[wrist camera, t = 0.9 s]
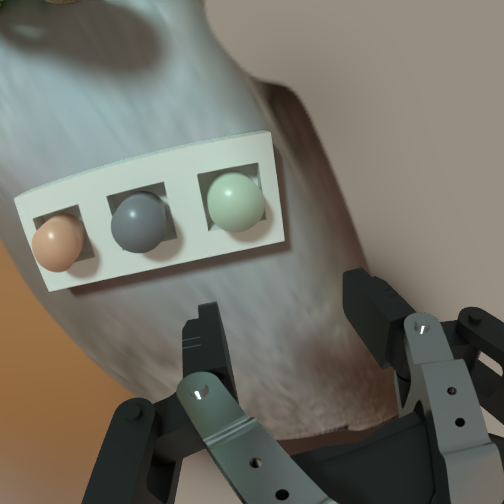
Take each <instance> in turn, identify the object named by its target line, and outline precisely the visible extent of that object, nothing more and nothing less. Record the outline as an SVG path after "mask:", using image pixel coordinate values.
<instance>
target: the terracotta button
mask: <svg viewBox="0 0 504 504" xmlns="http://www.w3.org/2000/svg"><path fill="white" fill-rule="evenodd" d="M85 243H86V233H85V229H84V227H83V225H82V223H81V222H80V221H79V220H78V219H77V218H76V217H75V216H73V215H71V214H68V213H58V214H55V215H54V216H52V217H51V218H50V219H49V220H48V221H47V222H46V223H44V224H43V225H42V226H41V227H40V228H39V229H38V230H37V231H36V232H35V234H34V236H33V239H32V251H33V254H34V256H35V258H36V260H37V261H38V263H39V264H40V265H41V266H42V267H43V268H45V269H46V270H48V271H51V272H56V273H59V272H64V271H66V270H68V269H69V268H70V267H71V266H72V264H73V263H74V261H75V260H76V258H77V257H78V255H79V254H80V253H81V251H82V250H83V248H84V246H85Z"/></svg>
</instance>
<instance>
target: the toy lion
mask: <svg viewBox="0 0 504 504" xmlns="http://www.w3.org/2000/svg"><path fill="white" fill-rule="evenodd" d="M1 1H3V0H0V2H1ZM45 1H46V2H49V3H56V4H65V3H72V2H76V1H78V0H45ZM0 7H1V3H0Z"/></svg>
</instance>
